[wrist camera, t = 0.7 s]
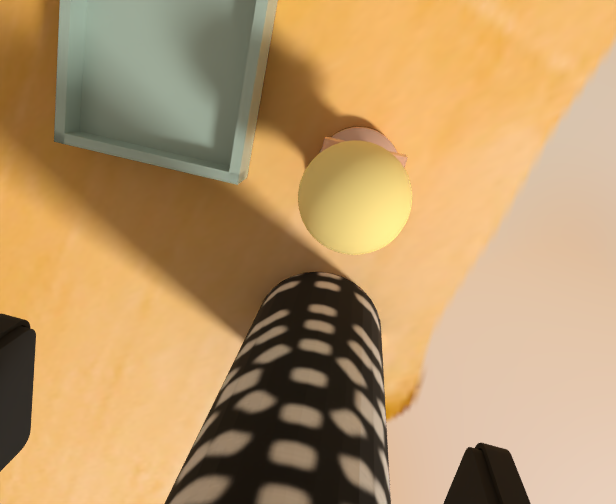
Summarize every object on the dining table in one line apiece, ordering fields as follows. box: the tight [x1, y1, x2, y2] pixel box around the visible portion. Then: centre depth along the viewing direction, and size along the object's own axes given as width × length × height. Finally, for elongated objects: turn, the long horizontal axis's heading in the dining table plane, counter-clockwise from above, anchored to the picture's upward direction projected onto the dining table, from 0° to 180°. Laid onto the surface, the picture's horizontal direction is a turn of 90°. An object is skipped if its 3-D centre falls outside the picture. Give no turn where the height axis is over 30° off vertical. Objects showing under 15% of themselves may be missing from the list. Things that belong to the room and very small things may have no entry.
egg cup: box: [319, 127, 407, 168], centre depth 27 cm, size 5×5×6 cm
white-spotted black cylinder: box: [165, 272, 391, 504], centre depth 24 cm, size 8×8×20 cm
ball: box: [298, 140, 412, 255], centre depth 22 cm, size 5×5×5 cm
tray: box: [54, 0, 278, 185], centre depth 27 cm, size 16×11×2 cm
